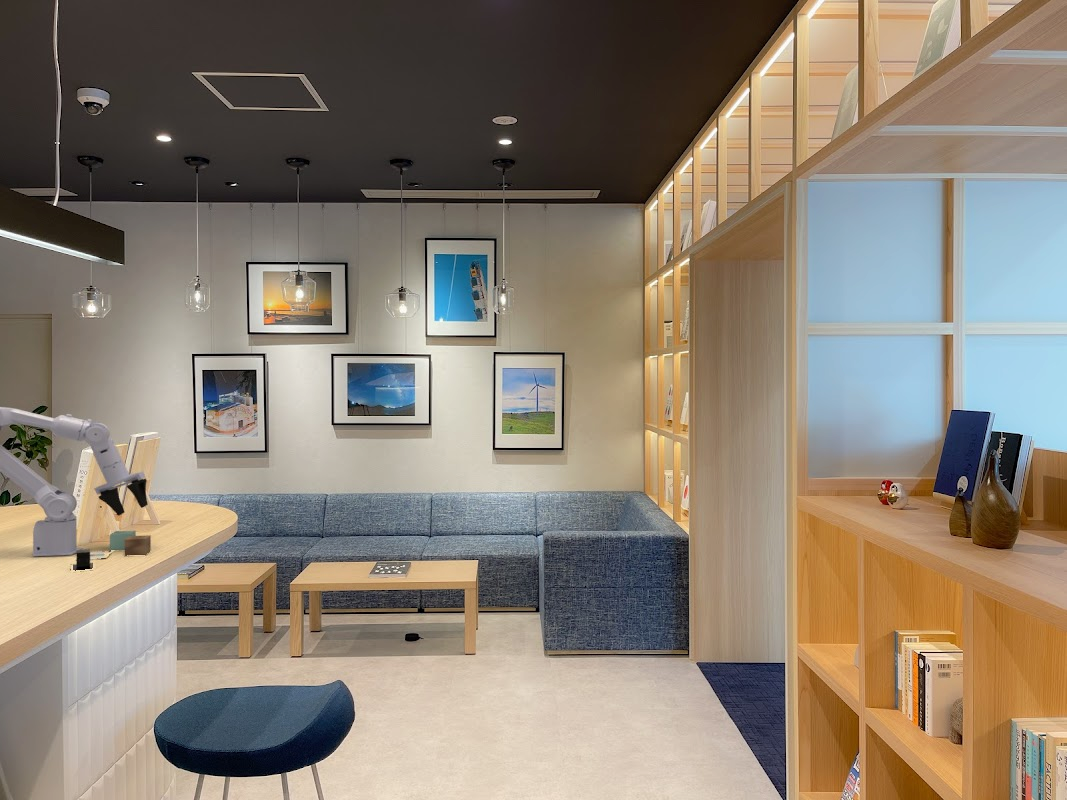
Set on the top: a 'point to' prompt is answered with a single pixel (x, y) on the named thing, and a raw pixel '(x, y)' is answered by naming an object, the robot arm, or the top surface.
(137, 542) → the walnut block
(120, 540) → the teal block
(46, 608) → the top surface
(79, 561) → the black block with base
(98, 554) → the page
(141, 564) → the top surface
